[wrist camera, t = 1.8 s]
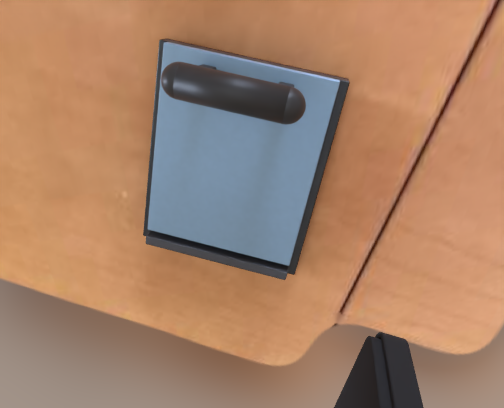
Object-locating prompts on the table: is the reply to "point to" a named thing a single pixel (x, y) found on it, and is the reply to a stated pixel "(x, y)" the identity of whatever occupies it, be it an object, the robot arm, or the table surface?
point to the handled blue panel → (236, 150)
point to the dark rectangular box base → (223, 254)
